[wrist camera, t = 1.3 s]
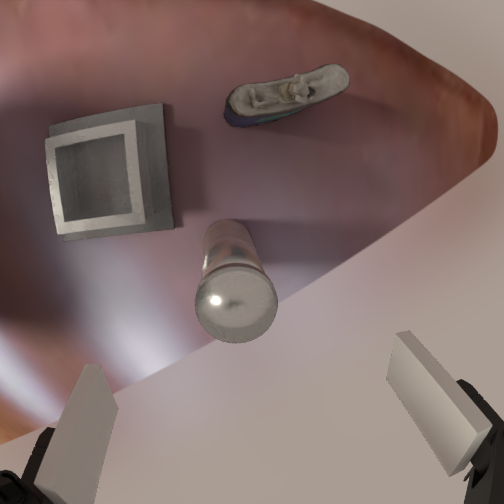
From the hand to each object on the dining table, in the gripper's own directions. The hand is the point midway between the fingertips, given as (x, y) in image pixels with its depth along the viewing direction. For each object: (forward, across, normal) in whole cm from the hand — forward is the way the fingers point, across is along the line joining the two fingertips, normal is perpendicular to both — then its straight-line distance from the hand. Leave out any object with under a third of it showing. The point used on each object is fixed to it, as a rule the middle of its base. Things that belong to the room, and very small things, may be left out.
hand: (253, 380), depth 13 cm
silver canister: (+20, 0, 0) cm, 20 cm away
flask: (+20, +5, +13) cm, 25 cm away
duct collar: (+20, -11, +8) cm, 24 cm away
